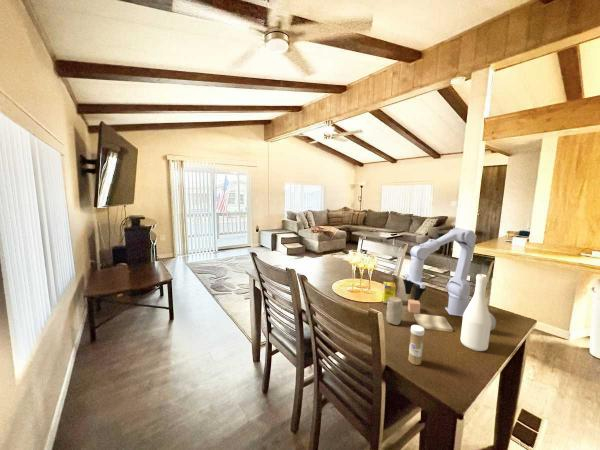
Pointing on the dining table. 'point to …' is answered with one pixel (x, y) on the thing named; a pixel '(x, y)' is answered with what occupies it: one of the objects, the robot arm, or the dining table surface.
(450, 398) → the dining table surface
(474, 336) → the wine bottle
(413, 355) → the sprinkles bottle
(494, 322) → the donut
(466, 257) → the robot arm
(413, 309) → the peach cube
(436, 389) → the dining table surface
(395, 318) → the carving
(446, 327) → the birch board
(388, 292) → the supplement box
